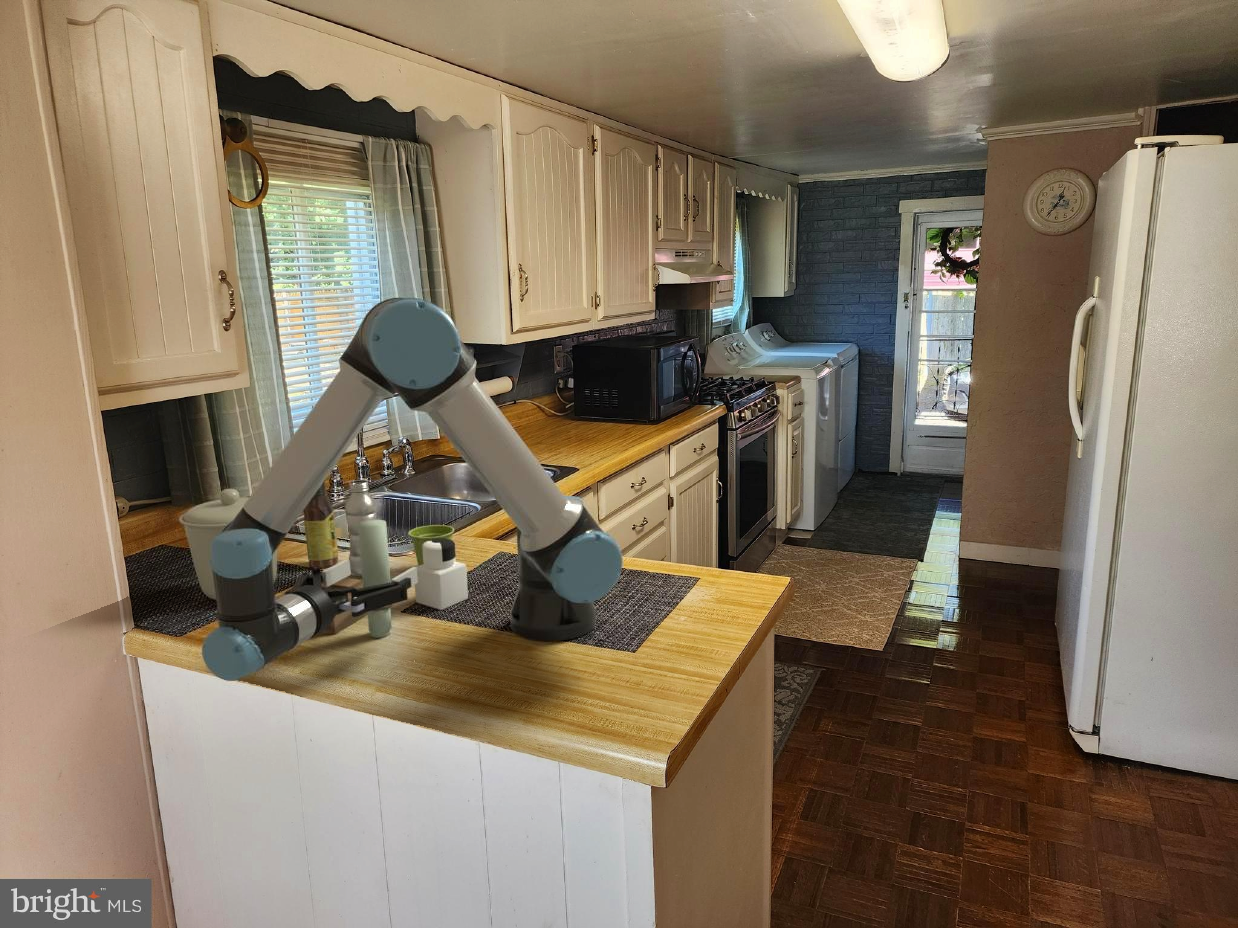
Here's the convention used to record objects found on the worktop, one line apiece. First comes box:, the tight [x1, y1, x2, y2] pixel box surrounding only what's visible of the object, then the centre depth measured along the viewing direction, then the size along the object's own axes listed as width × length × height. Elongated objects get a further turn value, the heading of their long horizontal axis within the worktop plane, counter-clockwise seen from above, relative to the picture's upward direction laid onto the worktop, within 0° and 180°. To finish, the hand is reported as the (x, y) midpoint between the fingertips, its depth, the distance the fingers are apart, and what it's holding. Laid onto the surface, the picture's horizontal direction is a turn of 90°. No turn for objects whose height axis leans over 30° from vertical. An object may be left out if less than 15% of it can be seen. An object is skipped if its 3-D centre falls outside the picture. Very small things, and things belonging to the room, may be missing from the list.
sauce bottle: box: [303, 478, 339, 569], centre depth 182 cm, size 6×6×20 cm
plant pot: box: [407, 524, 455, 566], centre depth 178 cm, size 9×9×9 cm
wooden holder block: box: [275, 577, 368, 635], centre depth 155 cm, size 13×13×5 cm
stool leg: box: [358, 519, 394, 639], centre depth 145 cm, size 5×5×20 cm
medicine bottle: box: [414, 538, 469, 611], centre depth 161 cm, size 7×7×12 cm
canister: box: [178, 488, 279, 601], centre depth 166 cm, size 18×18×21 cm
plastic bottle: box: [343, 479, 378, 578], centre depth 175 cm, size 6×7×20 cm
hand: (381, 570), depth 146 cm, fingers open, 13 cm apart
